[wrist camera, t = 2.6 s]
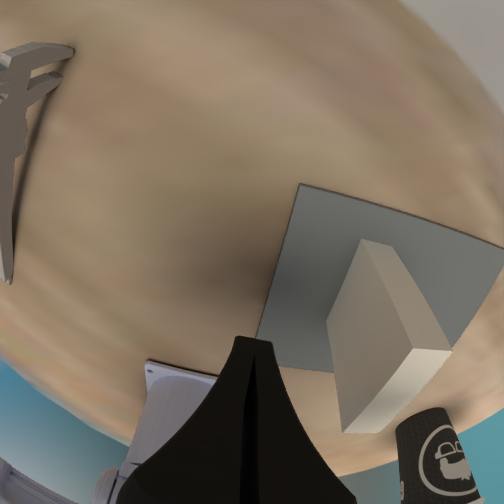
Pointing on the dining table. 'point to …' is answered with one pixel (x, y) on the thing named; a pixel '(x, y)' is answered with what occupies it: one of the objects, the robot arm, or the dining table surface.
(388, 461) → the dining table surface
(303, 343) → the mat
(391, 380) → the tile
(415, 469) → the coffee cup
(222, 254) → the dining table surface
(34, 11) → the dining table surface
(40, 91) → the caliper
